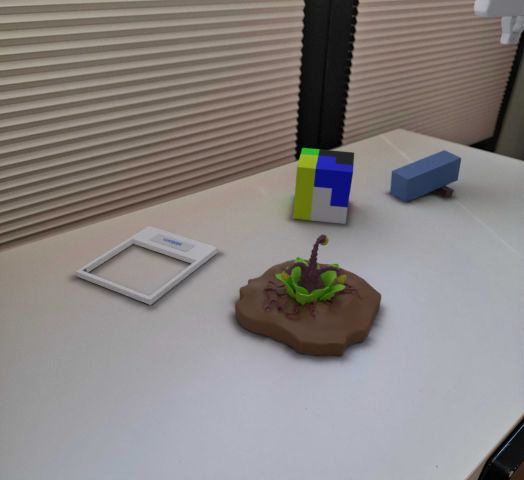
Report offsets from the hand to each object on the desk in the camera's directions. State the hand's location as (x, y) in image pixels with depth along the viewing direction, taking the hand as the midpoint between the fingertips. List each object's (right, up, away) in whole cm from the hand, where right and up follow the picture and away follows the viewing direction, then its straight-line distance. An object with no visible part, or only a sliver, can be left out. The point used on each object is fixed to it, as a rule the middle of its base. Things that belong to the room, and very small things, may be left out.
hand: (508, 43), depth 96 cm
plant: (-40, -52, -21) cm, 69 cm away
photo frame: (-65, -44, -13) cm, 80 cm away
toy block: (-6, -19, +12) cm, 23 cm away
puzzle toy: (-35, -31, +5) cm, 47 cm away
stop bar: (-9, -23, +14) cm, 29 cm away
